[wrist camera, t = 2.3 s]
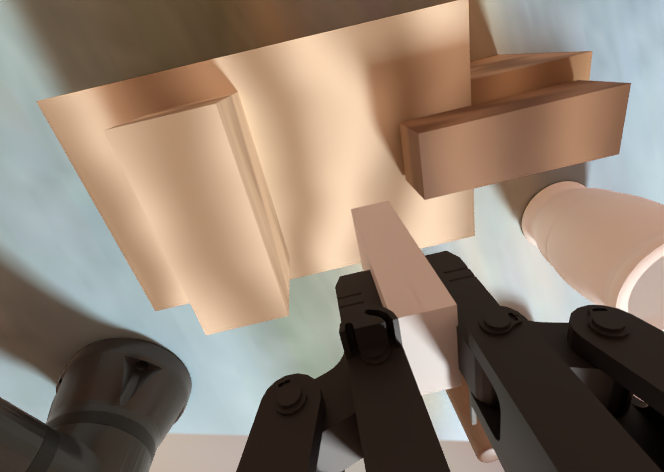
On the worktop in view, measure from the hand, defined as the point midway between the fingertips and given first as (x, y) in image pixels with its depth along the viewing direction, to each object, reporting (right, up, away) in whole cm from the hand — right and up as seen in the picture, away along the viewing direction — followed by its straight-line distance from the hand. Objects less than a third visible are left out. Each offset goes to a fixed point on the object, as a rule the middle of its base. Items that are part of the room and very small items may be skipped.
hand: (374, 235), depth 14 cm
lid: (-5, +5, +11) cm, 13 cm away
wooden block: (+9, +7, +10) cm, 15 cm away
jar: (+24, +3, +27) cm, 36 cm away
